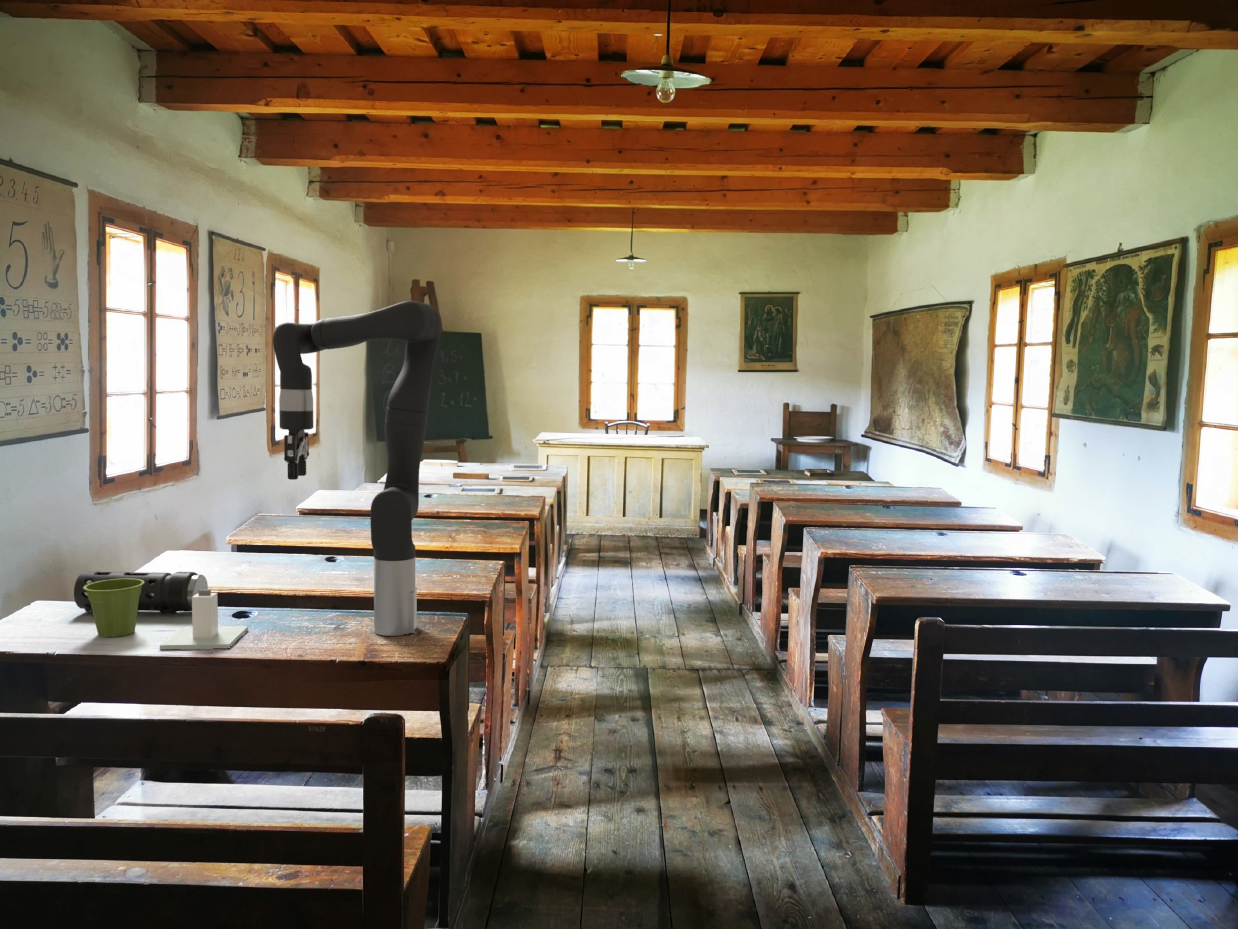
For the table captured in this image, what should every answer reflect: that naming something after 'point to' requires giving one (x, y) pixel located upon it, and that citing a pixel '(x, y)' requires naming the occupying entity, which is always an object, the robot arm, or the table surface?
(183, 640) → the board
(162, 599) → the muzzle brake
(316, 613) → the table surface
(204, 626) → the plug block
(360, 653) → the table surface
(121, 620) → the plant pot
